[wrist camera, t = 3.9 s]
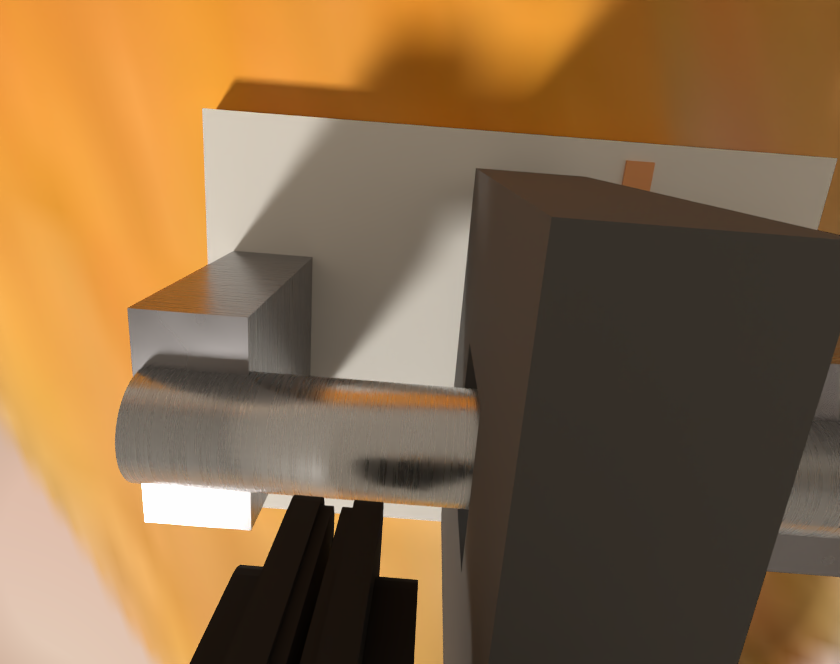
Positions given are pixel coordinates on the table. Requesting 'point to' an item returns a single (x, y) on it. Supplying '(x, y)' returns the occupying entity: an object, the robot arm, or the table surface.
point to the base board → (430, 222)
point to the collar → (628, 419)
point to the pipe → (338, 417)
